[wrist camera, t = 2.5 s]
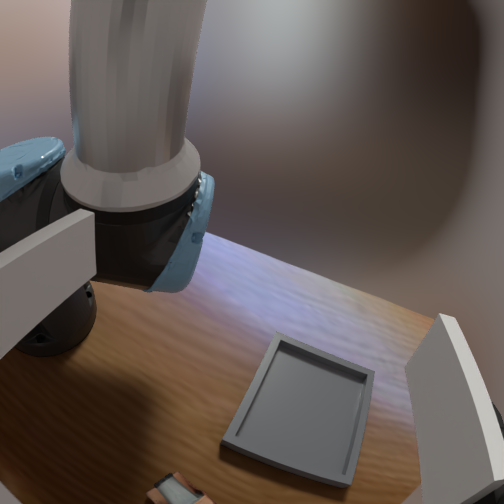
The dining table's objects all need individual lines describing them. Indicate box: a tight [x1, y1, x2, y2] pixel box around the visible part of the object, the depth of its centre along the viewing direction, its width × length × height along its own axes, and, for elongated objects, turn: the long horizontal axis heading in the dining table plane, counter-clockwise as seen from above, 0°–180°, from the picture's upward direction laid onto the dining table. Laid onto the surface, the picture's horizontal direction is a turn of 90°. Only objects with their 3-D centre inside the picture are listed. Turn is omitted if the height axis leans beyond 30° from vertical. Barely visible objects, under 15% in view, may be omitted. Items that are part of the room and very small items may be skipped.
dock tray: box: [220, 331, 375, 488], centre depth 33 cm, size 15×17×2 cm
